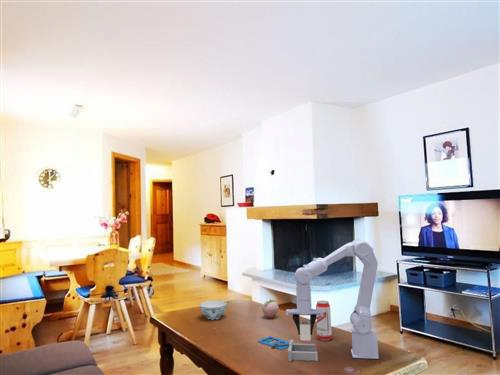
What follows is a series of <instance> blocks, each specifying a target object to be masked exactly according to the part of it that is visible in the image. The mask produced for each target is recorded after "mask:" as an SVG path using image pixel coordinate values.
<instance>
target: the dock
mask: <svg viewBox="0 0 500 375" xmlns="http://www.w3.org/2000/svg"><path fill="white" fill-rule="evenodd" d="M289 342H290V343H289V348H287V356H288V357H287V360H288V362H289V363H291V362H293V361H295V362H296V361H298V362H300V361H301V362H302V361H303V362H318V351H317V349H316V348H317V347H316V343H296V344H294V343H295V342H294V340H293V339H290V340H289Z"/></svg>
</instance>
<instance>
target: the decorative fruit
mask: <svg viewBox="0 0 500 375" xmlns="http://www.w3.org/2000/svg"><path fill="white" fill-rule="evenodd" d="M279 308H280V307H279V305H278V303H277V300H275V299H269V300H267V301H264V302H263V304H262V306H261V309H262V312H263V314H264V315H265V316H266V317H268V318H270V319H271V318H273V317H275V316H276V314H278V311H279Z"/></svg>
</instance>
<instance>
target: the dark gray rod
mask: <svg viewBox="0 0 500 375" xmlns="http://www.w3.org/2000/svg"><path fill="white" fill-rule="evenodd" d="M293 343H294V344H297V343H295V342H293ZM282 346H289V344H283V345H273V346H270V348H271V349H276V347H282Z"/></svg>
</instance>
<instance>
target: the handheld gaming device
mask: <svg viewBox="0 0 500 375" xmlns="http://www.w3.org/2000/svg"><path fill="white" fill-rule="evenodd" d="M257 343H259V344H261V345H265V346H267V347H271V346H273V345H283V344H289V343H290V341H288V340H287V341H286V340H284V339H281V338H277V337H275V336H272V335H271V336H270V335H268V336H267V337H264V338H261V339H258V340H257ZM288 348H289V346H282V347H276V348H275V349H276V350H279V351H284V350H288Z"/></svg>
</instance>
